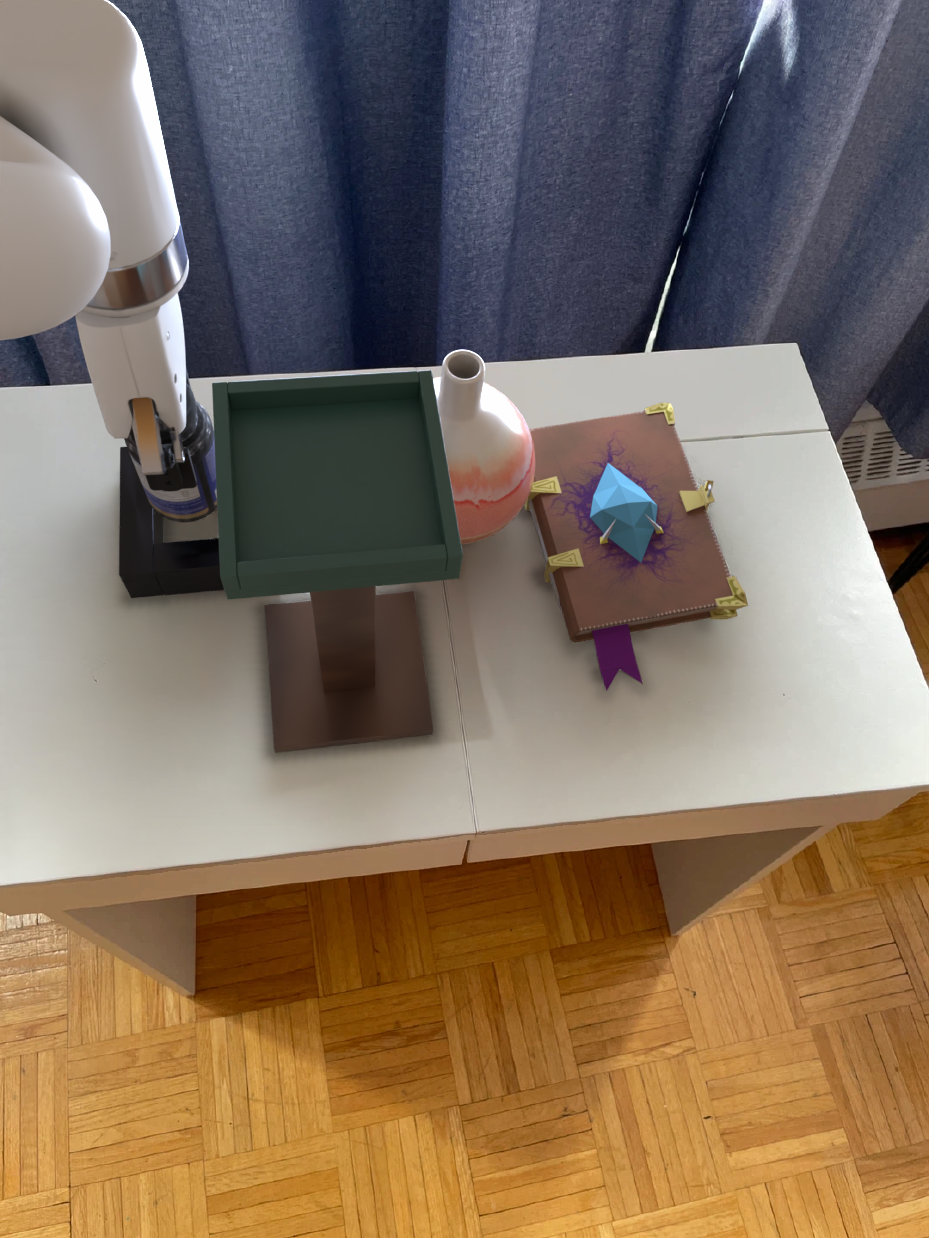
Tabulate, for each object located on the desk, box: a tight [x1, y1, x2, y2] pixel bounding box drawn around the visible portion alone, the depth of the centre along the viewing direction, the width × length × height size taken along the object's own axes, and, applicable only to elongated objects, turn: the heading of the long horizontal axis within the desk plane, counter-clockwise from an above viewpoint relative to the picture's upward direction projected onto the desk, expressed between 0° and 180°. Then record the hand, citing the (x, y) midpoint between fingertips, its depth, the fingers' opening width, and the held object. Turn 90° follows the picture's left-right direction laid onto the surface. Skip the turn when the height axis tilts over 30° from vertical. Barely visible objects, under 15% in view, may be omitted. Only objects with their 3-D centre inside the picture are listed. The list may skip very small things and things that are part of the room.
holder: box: [118, 446, 225, 599], centre depth 77 cm, size 12×12×4 cm
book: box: [523, 402, 749, 692], centre depth 79 cm, size 16×25×5 cm, turn 12°
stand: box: [264, 586, 434, 754], centre depth 62 cm, size 12×12×26 cm
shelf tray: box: [211, 369, 464, 601], centre depth 50 cm, size 12×12×2 cm
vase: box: [433, 349, 535, 546], centre depth 74 cm, size 14×14×18 cm
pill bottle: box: [123, 383, 217, 523], centre depth 68 cm, size 6×6×11 cm
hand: (173, 445), depth 67 cm, fingers closed on pill bottle, 6 cm apart
